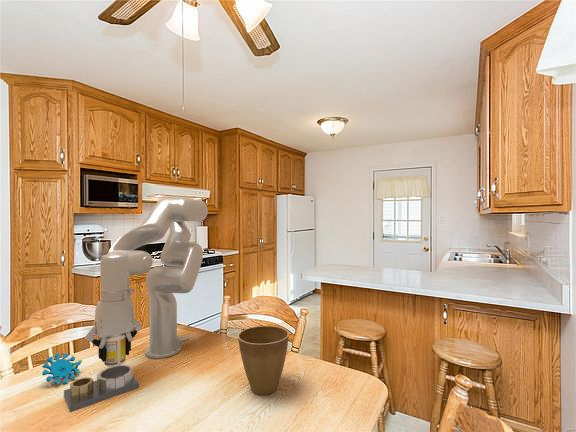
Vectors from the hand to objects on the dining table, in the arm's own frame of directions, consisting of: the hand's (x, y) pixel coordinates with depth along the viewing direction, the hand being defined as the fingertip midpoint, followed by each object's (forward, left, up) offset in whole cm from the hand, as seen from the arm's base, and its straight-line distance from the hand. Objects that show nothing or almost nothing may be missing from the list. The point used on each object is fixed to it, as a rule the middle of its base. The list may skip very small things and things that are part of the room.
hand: (115, 356), depth 95 cm
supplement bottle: (0, 0, -2) cm, 2 cm away
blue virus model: (+11, -16, -10) cm, 21 cm away
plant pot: (-32, +30, -9) cm, 45 cm away
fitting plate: (+3, 0, -9) cm, 10 cm away
